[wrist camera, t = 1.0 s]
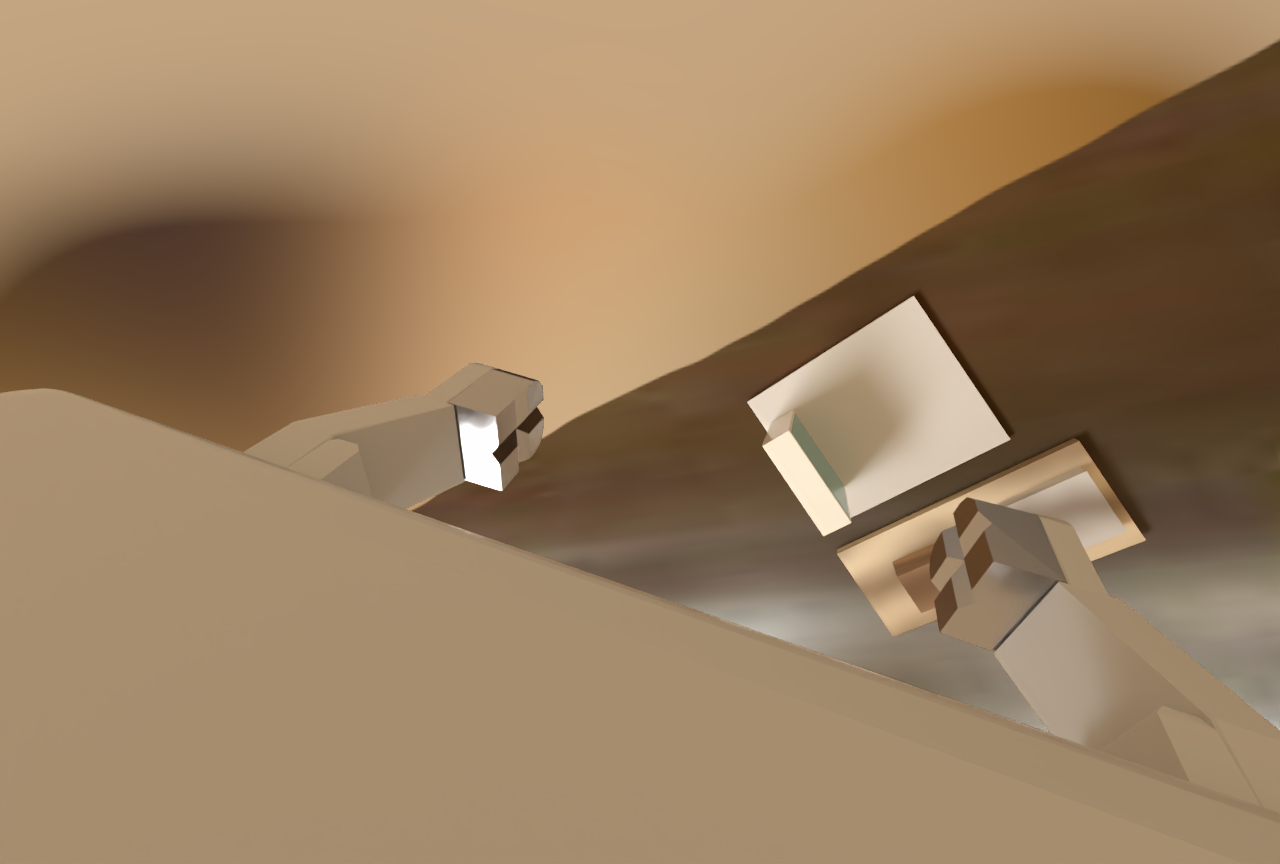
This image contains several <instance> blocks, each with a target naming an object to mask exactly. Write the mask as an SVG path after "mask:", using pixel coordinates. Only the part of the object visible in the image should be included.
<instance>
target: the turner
mask: <svg viewBox="0 0 1280 864" xmlns="http://www.w3.org/2000/svg"><path fill="white" fill-rule="evenodd" d="M997 505H1001V506H1005V507H1009V508H1013V509H1017V510H1020V511H1024V512H1028V513H1035V514H1039V515H1043V516H1047V517H1051V518H1055V519H1060V520H1064V521H1066V522H1068V523H1069V524H1070V525H1072V526H1073V527H1074V529H1075V531H1076V533H1077V535H1078V537H1079V539H1080V541H1081V543H1082V545H1083V547H1084V548H1087V547H1089V546H1092V545H1095V544H1097V543H1100V542H1102V541H1105V540H1107V539H1110V538H1112V537H1115V536H1118V535H1120V534H1123V533H1125V532H1127V531H1126V529H1125V528H1124V526H1123V525H1122V523H1121V522H1120V520H1119V519H1118V517H1117V516H1116V514H1115V513H1114V511H1113V510H1112V508H1111V507H1110V505H1109V504H1108V502H1107V501H1106V499H1105V498H1104V496H1103V495H1102V493H1101V492H1100V490H1099V489H1098V487H1097V486H1096V484H1095V483H1094V481H1093V480H1092V478H1091V477H1090V475H1089V474H1088V472H1087V471H1086V470H1084V469H1082V468H1081V467H1078V468H1076V469H1073V470H1071V471H1069V472H1067V473H1065V474H1062V475H1060V476H1058V477H1056V478H1053V479H1051V480H1049V481H1047V482H1044V483H1042V484H1040V485H1038V486H1036V487H1033V488H1031V489H1029V490H1027V491H1024V492H1022V493H1020V494H1018V495H1016V496H1013V497H1011V498H1009V499H1007V500H1004V501H1002V502H1000V503H998V504H997ZM934 544H935V543H934ZM934 544H932V545H930V546H927V547H925V548H923V549H921V550H918V551H916V552H914V553H911V554H909V555H907V556H905V557H902V558H900V559H898V560H896V561H893V562H892V563H893V566H894V569H895V572H896V575H897V578H898V579H899V581H900V582H901V584H902V585H903V587H904V588H905V590H906V591H907V593H908V594H909V596H910V597H911V598H912V600H913V601H914V603H915V604H916V606H917V607H918V609H919V610H920V612H921V613H923V612H926V611H928V610H931V609H933V608H935V603H934V601H935V599H936V598H937V596H938V595H939V593H940V591H939V590H938V589H937V588H936V586H935V585H934V584H933V583H932V582H931V578H930V571H929V567H930V557H931V553H932V550H933V546H934Z"/></svg>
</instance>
